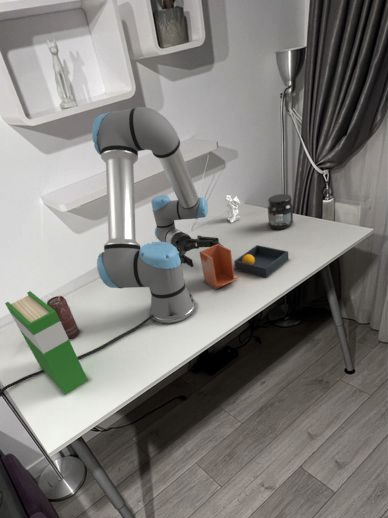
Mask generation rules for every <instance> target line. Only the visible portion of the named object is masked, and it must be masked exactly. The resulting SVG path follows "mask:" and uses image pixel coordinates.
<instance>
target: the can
mask: <svg viewBox="0 0 388 518" xmlns="http://www.w3.org/2000/svg"><path fill="white" fill-rule="evenodd" d="M46 304H47V305H48V306H50V307H51V308H52V309H53V310H55V311H56V313H57V315H58V317H59V320H60V322H61V324H62V326H63V328H64V330H65V332H66V334H67V337H68V339H69V341H72V340H75V339H76V338H78V336H79V335H80V328H79V326H78V324H77V322H76V320H75V317H74V315H73V312H72V310H71V309H70V306H69V304H68V301H67V299H66V298H65V297H64V296H63V295H56V296H54V297H53V296H52V297H51V298H49V299H48V300H47V302H46Z"/></svg>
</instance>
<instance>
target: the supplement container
mask: <svg viewBox="0 0 388 518" xmlns="http://www.w3.org/2000/svg"><path fill="white" fill-rule="evenodd" d="M267 204H268V205H267V217H268V218H267V220H268V226H269V228H270V229H272V230H275V231H276V230H278V231H279V230H280V231H281V230H286V229H288V228H290V227H291V226H292V225H293V224H294V211H293V210H294V209H293V208H294V207H293V206H294V204H293V202H292V195H290V194H288V193H278V194H274V195H271V196H269V197H268V199H267Z"/></svg>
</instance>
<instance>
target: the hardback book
mask: <svg viewBox="0 0 388 518" xmlns="http://www.w3.org/2000/svg"><path fill="white" fill-rule="evenodd" d="M26 294H27V295H26V296H24V297H22V298H20V299H18V300H16V301H14V302H12V303H11V302H9V301H7V302H5V306H6V308H7V310H8V311H9V314H10V315H11V317H12V318H13V320H14V322H15V324H16V326H17V328H18V329H19V331H20V334H21V335H22V337H23V339H24V340H25V342H26V344H27V346H28V348H29V349H30V351H31V353H32V356H34V359H35V360H36V362H37V364H38V366H39V367H40V369H41V370H44V374H46V375H47V377H48V378H49V379H50V380H51V381H52V382H53V383H54V385H55V386H57V388H58V389H59V390H60V391H61V392H62V393H63V394H64V395H68V394H70V392H72V391H74V390H75V389H77V388H78V387H80V386H82V385H83V384H85V383H86V382H88V381H89V380H88V377H87V375H86V373H85V371H84V369H83V367H82V364H81V362H80V359H78V358H77V357H78V356H77V354H76V351H75V350H74V347H73V345H72V343H71V340H69V339H68V337H67V334H66V332H65V330H64V328H63V326H62V324H61V322H60V320H59V317H58V315H57V313H56V311H55V310H53V309H52V308H51V307H50V306H48V305H47V302H45V301H43V300H42V299H41V298H39V296H37V295H36V294H34V293H33V292H32V291H31V290H29V291H28V292H26Z"/></svg>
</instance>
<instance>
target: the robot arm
mask: <svg viewBox="0 0 388 518" xmlns="http://www.w3.org/2000/svg"><path fill="white" fill-rule="evenodd" d="M91 137H92V143H93V147H94V149H95V152H97V154H98V155H100V159H101V160H102V161H103V162H104V164H105V173H106V202H107V203H106V205H107V232H108V233H107V234H108V240H107V241H106V243H104V244H103V251H102V252H100V253H99V254H98V256H97V257H98V258H97V259H96V267H97V273H98V275H99V277H100V279H101V281H102V283H103V284H104V285H105V286H106V287H108V288H112V289H131V288H149V292H150V297H151V298H150V309H149V311H150V316H148V317H147V318H145V319H144V320H142V322H141V323H139V324H137V325H136V326H134V327H133V328H130V329H129V330H126V331H125V332H122V333H121V334H119V335H117V336H116V337H114V338H111V339H110V340H109V341H107V342H106V343H103V344H102V345H100V346H98V347H96V348H94V349H92V350H90V351H87V352H85V353H83V354H80V355H78V356H77V358H78V360H80V359H83V358H86V357H87V356H90V355H92V354H94V353H97V352H98V351H100V350H102V349H104V348H106V347H107V346H109V345H111V344H113V343H115V342H117V341H118V340H120V339H122V338H123V337H125V336H127V335H129V334H131V333H133V332H135V331H136V330H138V329H140V328H141V327H143V326H144V325H145V324H146V323H148V322H149V321H151V320H154V321H155V322H157V323H159V324H164V325H165V324H167V325H168V324H176V323H179V322H182V321H184V320H187V319H188V318H189V317H191V316H192V315H193V314H194V313H195V311H196V302H195V299H194V298H193V297H194V296H193V295H192V294H191V292H190V291H189V290H188V288H187V286H186V281H185V277H184V272H183V267H182V264H184V265H185V264H186V265H188V266H189V267H190V268H194V262H193V259H192V258H190V257H189V256H187V255H186V254H187V252H189V251H191V250H199V249H200V248H210V247H212V246H214V245H217V244H219V245H222V246H224V245H223V244H221V243H220V241H219V237H215V236H213V237H212V236H202V235H197V236H196V238H192V236H190V235H189V234H188V233H185V232H184V231H182V230H180V229H178V228H176V223H175V221H180V220H181V221H182V220H194V219H195V220H198V219H202V218H206V217H207V216H208V213H209V205H208V204H209V203H208V201H207V199H206V198H205V197H201V196H200V197H199V196H198V192H197V190H196V187H195V185H194V183H193V180H192V177H191V174H190V172H189V170H188V167H187V164H186V162H185V159H184V156H183V154H182V151H181V148H180V147H181V140H180V137H179V135H178V132H177V131H176V129H175V128H174V125H172V123H171V122H170V121H169V120H168V119H167V117H165V116H164V115H162V113H160V112H158V111H157V110H156V109H153V108H151V107H147V106H138V107H134V108H133V107H132V108H129V109H123V110H118V111H117V110H116V111H107V112H106V113H101V114H98V116H97V117H96V118H95V119H94V121H93V124H92V130H91ZM141 151H151V153H152V155H153V157H155V158H157V159H158V160H159V162H160V165H161V166H162V167H161V168H162V169H163V171H164V173H165V175H166V177H167V180H168V181H169V183H170V185H171V188H172V190H173V193H174V194H175V196H176V199H174V200H171V198H170V196H169V195H167V194H160V195H156V196H154V197H153V198H152V199H151V200H150V201H151V209H152V214H153V218H154V221H155V225H156V227H155V229H154V236H155V238H156V239H157V240H158V241H152V242H147V243H146V244H143V245H142V246H141V244H140V243H139V242H138V241H137V240H136V210H135V209H136V208H135V205H136V204H135V175H134V171H135V170H134V169H135V168H134V165H135V164H136V163H137V162H138V160H139V152H141ZM41 374H45V372H44V370H42V369H41V370H38V371H36V372H33V373H29V374H28V375H25V376H23V377H21V378H19V379H16V380H15V381H13V382H11V383H9V384H7V385H5V386H3V388H1V390H0V398H1V397H2V396H3V394H4V393H5V391H7V390H8V389H9V388H12V387H14V386H16V385H18V384H20V383H21V382H24V381H27V380H28V379H30V378H34V377H36V376H38V375H41ZM46 482H47V484H48V485H49V487H50V488H53V485H51V483H50V482H49V481H48V480H47V479H46Z"/></svg>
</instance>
